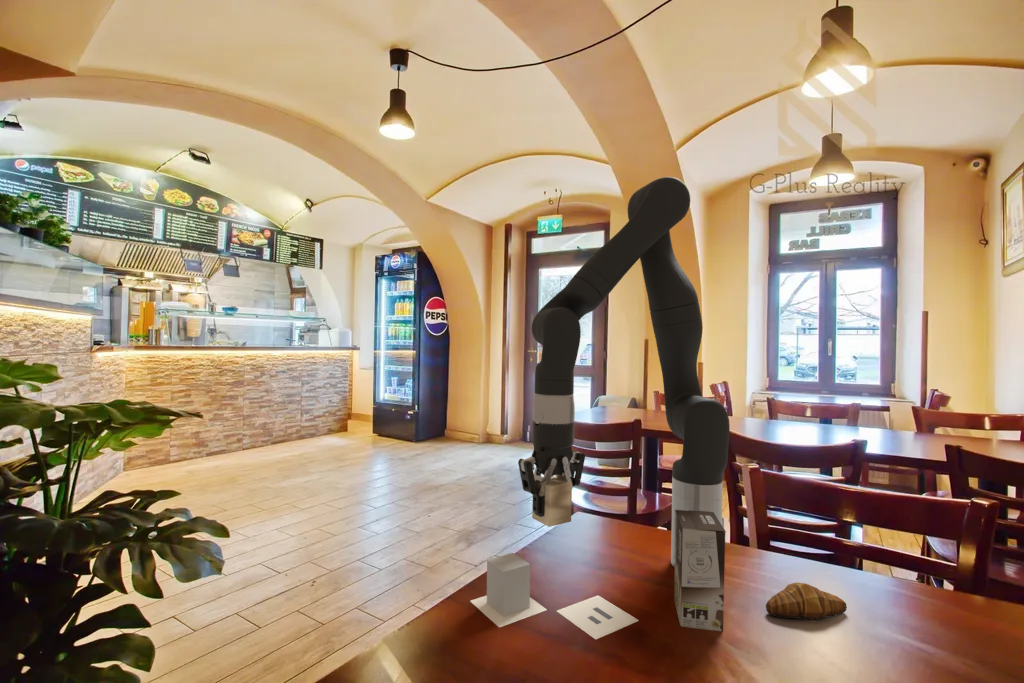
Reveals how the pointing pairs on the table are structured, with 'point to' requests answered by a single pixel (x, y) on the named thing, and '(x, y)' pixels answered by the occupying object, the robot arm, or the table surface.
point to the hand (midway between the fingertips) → (551, 512)
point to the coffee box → (699, 569)
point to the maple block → (556, 502)
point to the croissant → (805, 603)
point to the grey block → (508, 584)
